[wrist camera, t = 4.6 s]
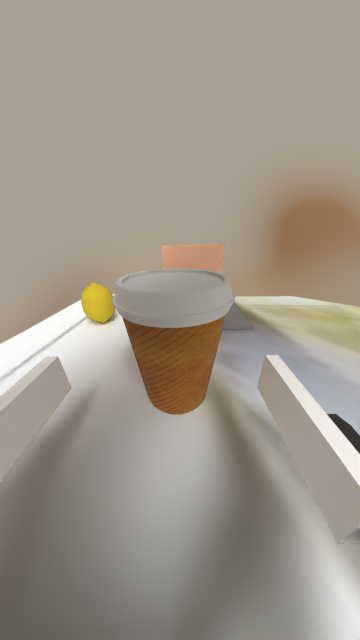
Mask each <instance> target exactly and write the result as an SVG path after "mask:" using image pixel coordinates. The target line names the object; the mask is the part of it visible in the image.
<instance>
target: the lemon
mask: <svg viewBox="0 0 360 640" xmlns="http://www.w3.org/2000/svg"><path fill="white" fill-rule="evenodd" d="M112 298H113V296H112V294H111V292H110V291H109V290H108V289H107V288H106V287H104V286H102V285H99V284H97V283H92V284H91V285H90V286H88V287H87V288H86V289H85V290H84V291H83V294H82V299H81V301H82V307H83V310H84V312H85V314H86V315H87V316H88V317H89V318H90V319H92V320H94V321H99V322H101V323H105V322H106V321H107V320H108V319H109V318H111V317H112V315H113V314H114V311H115V307H114V305H113V300H112Z"/></svg>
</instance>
